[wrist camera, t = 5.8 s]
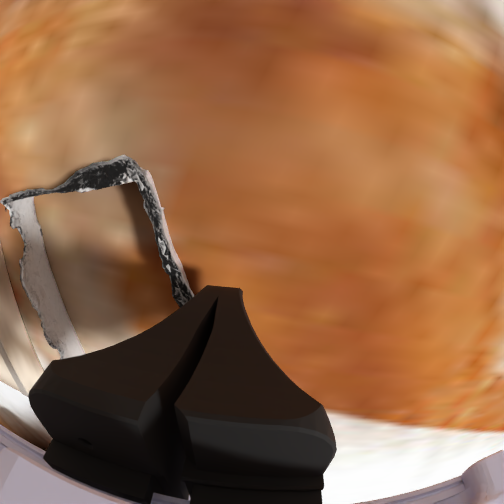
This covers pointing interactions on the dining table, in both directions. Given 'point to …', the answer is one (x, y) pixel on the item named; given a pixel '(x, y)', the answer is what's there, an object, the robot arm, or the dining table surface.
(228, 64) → the dining table surface
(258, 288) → the dining table surface
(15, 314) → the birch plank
